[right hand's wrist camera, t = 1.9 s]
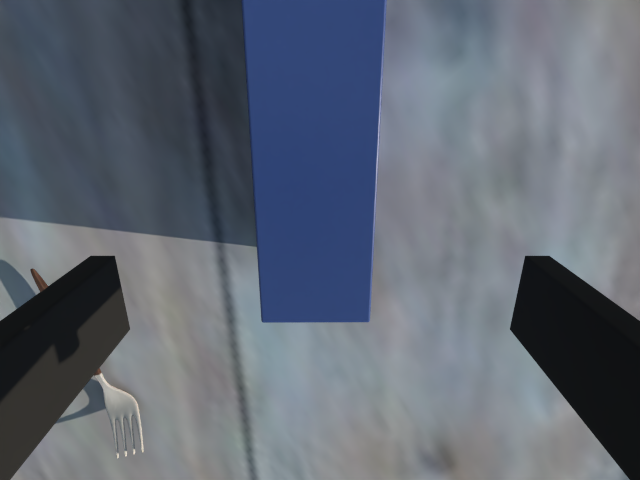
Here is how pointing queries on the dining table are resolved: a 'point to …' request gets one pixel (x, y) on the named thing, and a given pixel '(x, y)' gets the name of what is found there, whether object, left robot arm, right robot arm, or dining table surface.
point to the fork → (112, 399)
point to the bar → (314, 153)
